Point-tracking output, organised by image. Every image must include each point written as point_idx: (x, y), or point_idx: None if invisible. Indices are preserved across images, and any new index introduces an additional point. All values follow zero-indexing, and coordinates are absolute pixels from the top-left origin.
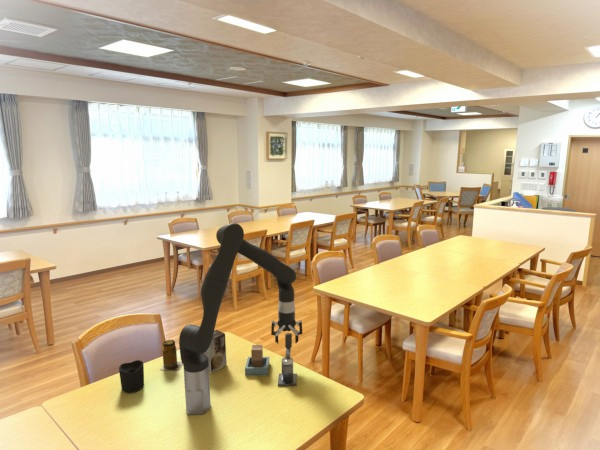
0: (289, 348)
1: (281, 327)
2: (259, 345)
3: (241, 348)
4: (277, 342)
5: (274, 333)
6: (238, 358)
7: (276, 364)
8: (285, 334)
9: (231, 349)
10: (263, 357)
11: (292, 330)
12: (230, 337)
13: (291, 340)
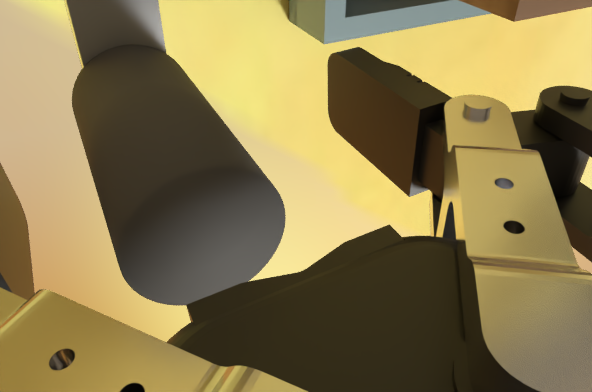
0: (99, 37)
1: (570, 266)
2: (547, 2)
3: None
4: (356, 56)
5: (531, 132)
6: (499, 60)
7: (222, 17)
8: (278, 216)
9: None
10: (376, 20)
11: (97, 339)
12: None
13: (93, 158)
